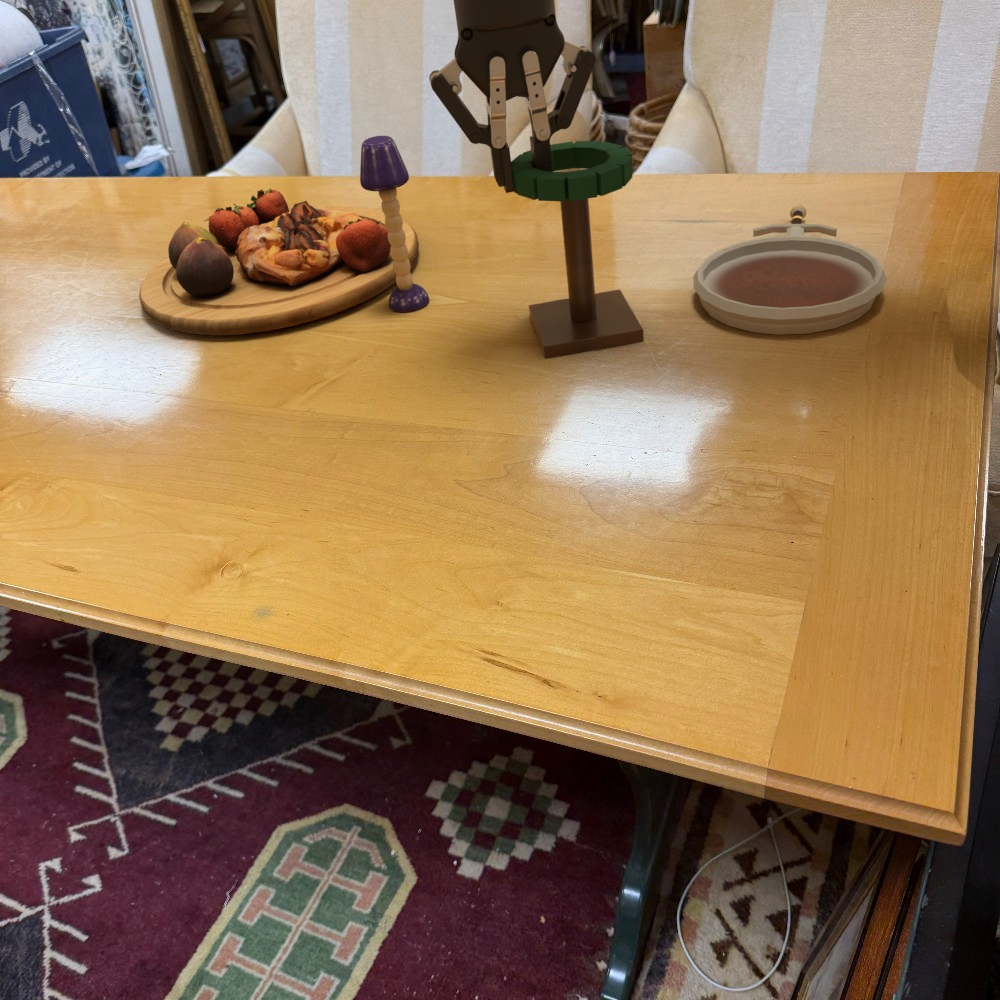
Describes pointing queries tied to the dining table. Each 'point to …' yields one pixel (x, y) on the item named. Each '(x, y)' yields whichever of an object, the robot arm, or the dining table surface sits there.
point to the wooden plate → (270, 267)
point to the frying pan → (789, 280)
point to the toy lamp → (392, 215)
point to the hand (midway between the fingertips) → (524, 186)
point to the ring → (574, 172)
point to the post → (582, 298)
